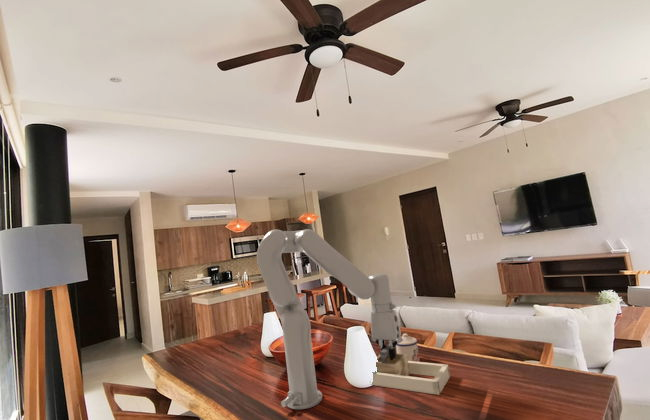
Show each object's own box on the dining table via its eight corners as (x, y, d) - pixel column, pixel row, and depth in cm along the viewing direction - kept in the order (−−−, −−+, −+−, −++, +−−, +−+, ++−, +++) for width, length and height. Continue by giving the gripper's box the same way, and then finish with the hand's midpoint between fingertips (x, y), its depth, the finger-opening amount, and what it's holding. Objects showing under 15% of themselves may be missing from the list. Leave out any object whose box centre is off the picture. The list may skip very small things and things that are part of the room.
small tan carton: (399, 385, 114) (395, 353, 115) (373, 382, 119) (369, 351, 120) (409, 374, 122) (405, 344, 123) (384, 371, 127) (380, 342, 128)
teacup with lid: (417, 368, 129) (413, 337, 130) (395, 366, 133) (391, 337, 134) (424, 357, 139) (420, 328, 140) (403, 355, 144) (399, 328, 145)
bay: (439, 399, 103) (436, 381, 104) (370, 388, 116) (368, 373, 117) (451, 378, 117) (448, 362, 117) (388, 370, 130) (386, 356, 130)
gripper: (406, 305, 122) (413, 356, 120) (367, 305, 130) (374, 353, 129) (398, 310, 115) (406, 364, 114) (358, 309, 124) (365, 360, 122)
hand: (389, 358), depth 121 cm, fingers closed on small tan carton, 2 cm apart
